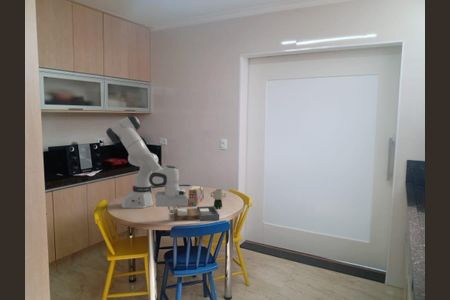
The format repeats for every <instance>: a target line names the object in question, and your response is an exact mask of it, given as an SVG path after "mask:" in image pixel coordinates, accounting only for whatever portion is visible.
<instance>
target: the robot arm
mask: <svg viewBox="0 0 450 300" xmlns="http://www.w3.org/2000/svg"><path fill="white" fill-rule="evenodd" d="M140 128H141V124H140V120H139V118H137V116H135V115H133V114H132V115H127V116H126V117H124V118H122V119H121V120H120V119H119V120H118V121H117V122H116V123H114V124H113V125H112V126H110V127H108V128H107V129H106V130H105V131H106V132H105V134H106V138H107V140H109V141H110V142H112V143H113V144H117V143H122V145H123V146H124V148H125V149H126V151H127V153H128V156H127V160H128V163H129V164H130V165H132V166H135V167H139V171H138V172H137V173H136V174H135V182H134V183H135V184H133V185H132V191H130V193H128V194H127V195H126V196H125V198H124V201H123V202H122V203H121V208H122V209H124V208H125V209H145V208H147V207H151V206H153V205H155V207H156V208H160V207H162V208H163V207H164V208H165V207H167V209H168V211H169V214H174V210H175V209H177V207H185V206H186V207H187V206H189V199H188V196H187V194H186V190H185V189H184V188H180V185H179V181H180V180H179V179H180V172H179V169H178V167H177V166H175V165H166V166H165V167H163V166H162V165H161V164H160V163H159V157H158V156H157V154H155V153H153V152H151V151H150V150H149V148H148V147H147V145H146V144H145V142H144V140H143V139H142V137H141V136H140V135H139V134H138V133H137V131H138V130H139V129H140ZM152 186H153V187H164V191H157V192H155V194H154V198H155V204H154V202H153V196H152V192H153V187H152ZM171 207H173V209H171Z"/></svg>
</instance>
